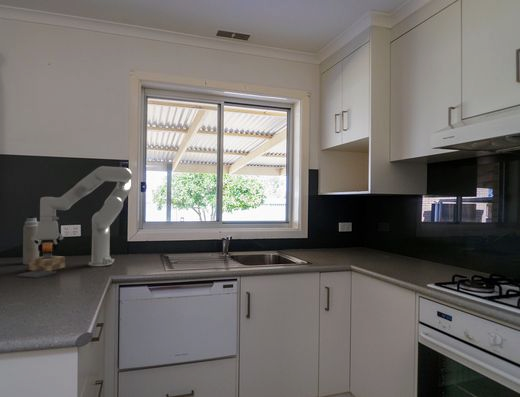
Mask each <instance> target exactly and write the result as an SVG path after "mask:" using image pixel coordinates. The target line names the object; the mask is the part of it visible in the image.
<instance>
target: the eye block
mask: <svg viewBox="0 0 520 397" xmlns="http://www.w3.org/2000/svg"><path fill="white" fill-rule="evenodd" d="M64 268H66V256H63V255H62V256H60V255H52V258H50V259H43V255H42V256H39V257H37V258H32V259H29V264H28V271H35V270H44V271H56V270H59V269H64Z"/></svg>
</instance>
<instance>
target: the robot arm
mask: <svg viewBox="0 0 520 397" xmlns="http://www.w3.org/2000/svg"><path fill="white" fill-rule="evenodd" d="M132 177H133V173H132V171H131V170H130V169H129V168H127V167H122V166H121V167H120V166H107V165H106V166H105V165H101V166H99V167H97V168H95V169H94V170H93V171H91V172H90V173H89V174H87V175H86V176H85V177H84V178H82V179H80V181H78V182H77V183H76V184H75V185H74V186H73V187H72V188H71V189H69V190H68V191H66V192H65V193H64V194H62V195H61V196H60V197H54V196H43V197H40V201H39V202H40V204H39V221H38V226H37V233H36V234H35V235H34V236H33V237H32V238H31V240H33V241H34V242H35V243H36V244H38V251H39V253H42V251H41V244H42V241H47V240H48V241H49V240H53V243H54V251H53V252H56V251H57V249H58V244H59V243H60V242H61V241H62V240H63V239H64V238H65V237H64V236H63V235H62V234H61V232H59V223H58V221H57V220H60V216H57V210H59V211H67V210H69V209H71V207H73V205H74V204H75V203H77V202H78V201H79V200H81V199H82V198H84V197H85V196H87V195H89V194H92V192H93V191H95V190H96V189H97V188H98V187H99V186H101V185H102V184H104V182H105V183H106V182H116V185H115V187H114V189H113V190H112V191H111V193H110V194H109V196H108V197H107V198H106V199H105V201H104V202H103V205H102V206H101V208H100V210H99V211H96V212H95V213H94V214H93V215H92V217H91V230H92V232H91V261H89V262H88V266H90V267H105V266H110V265H113V263H114V262H115V258H112V257H111V256H110V249H111V248H110V240H111V239H110V238H111V233H110V232H111V230H110V229H111V228H110V227H111V225H112V224H113V223H114V221H115V220H116V219H117V217H118V216H119V214H120V213H121V211H122V209H123V207H124V202H125V200H126V199H127V197H128V196H129V194H130V193H131V190H132ZM36 237H37V239H38V240H39V242H38V241H37V240H36V239H35V238H36Z"/></svg>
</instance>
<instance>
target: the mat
mask: <svg viewBox="0 0 520 397" xmlns="http://www.w3.org/2000/svg"><path fill="white" fill-rule="evenodd" d="M54 274H57V271H56V270H52V271H44V270H35V271H33V270H30V271H28V272H24V273H19V274H16V277H19V278H29V279H39V278H42V277H46V276H50V275H54Z"/></svg>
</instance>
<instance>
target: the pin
mask: <svg viewBox="0 0 520 397" xmlns="http://www.w3.org/2000/svg"><path fill="white" fill-rule="evenodd" d="M41 252H42V256H43V259H50V258H52V256H53V252H54V242H41Z"/></svg>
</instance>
